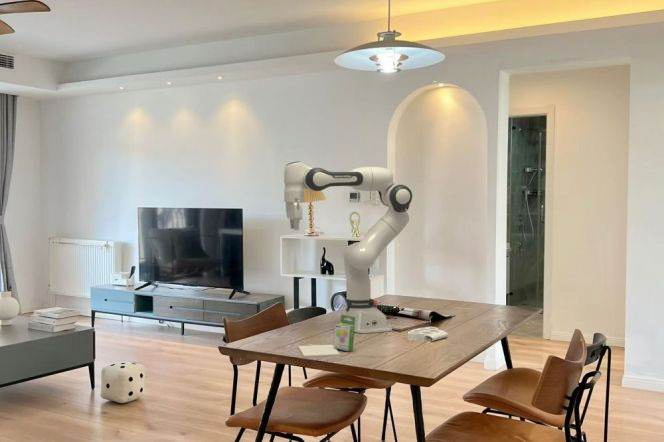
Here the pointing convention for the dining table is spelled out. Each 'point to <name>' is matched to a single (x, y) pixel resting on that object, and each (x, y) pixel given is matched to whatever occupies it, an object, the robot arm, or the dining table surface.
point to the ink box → (344, 333)
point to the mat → (318, 350)
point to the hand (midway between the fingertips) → (294, 229)
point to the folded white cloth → (426, 334)
